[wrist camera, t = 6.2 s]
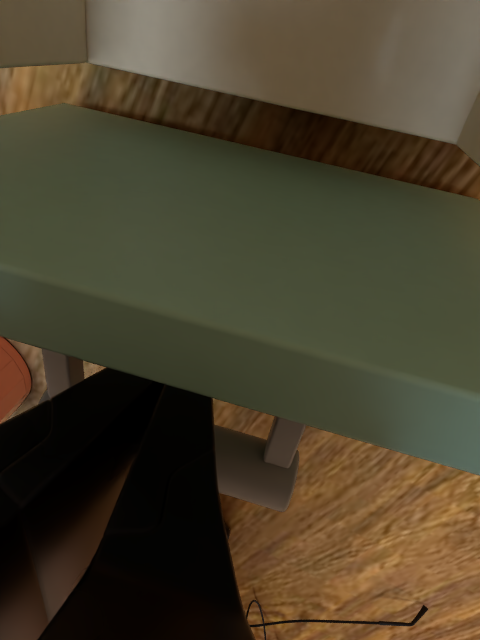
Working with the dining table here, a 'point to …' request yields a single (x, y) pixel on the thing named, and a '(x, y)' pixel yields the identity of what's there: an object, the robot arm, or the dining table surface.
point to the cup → (12, 380)
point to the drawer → (253, 225)
